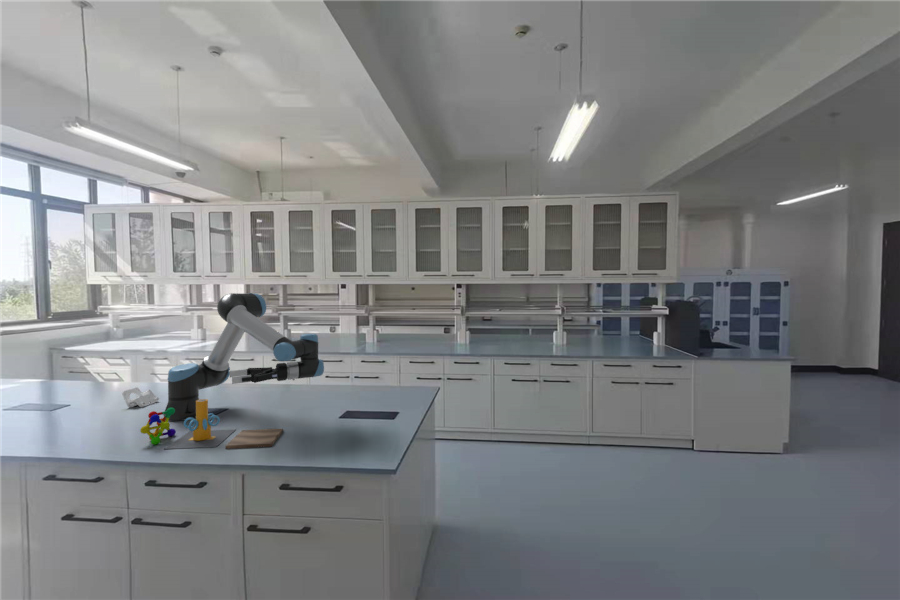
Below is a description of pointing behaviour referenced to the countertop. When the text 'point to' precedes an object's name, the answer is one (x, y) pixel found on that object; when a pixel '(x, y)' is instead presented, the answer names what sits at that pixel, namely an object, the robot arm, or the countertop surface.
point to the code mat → (188, 441)
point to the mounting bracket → (139, 397)
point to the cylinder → (201, 421)
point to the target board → (255, 438)
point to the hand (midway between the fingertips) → (230, 377)
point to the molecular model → (161, 424)
